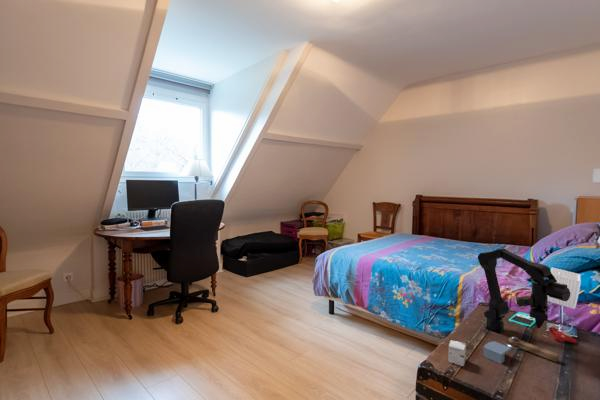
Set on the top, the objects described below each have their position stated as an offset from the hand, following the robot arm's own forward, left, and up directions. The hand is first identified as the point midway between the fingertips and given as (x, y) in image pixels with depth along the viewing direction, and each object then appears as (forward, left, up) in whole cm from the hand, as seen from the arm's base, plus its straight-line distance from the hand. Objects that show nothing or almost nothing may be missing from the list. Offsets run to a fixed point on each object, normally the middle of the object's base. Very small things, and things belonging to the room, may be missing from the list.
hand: (538, 327), depth 141 cm
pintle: (-7, -6, -10) cm, 13 cm away
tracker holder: (+2, +20, -10) cm, 23 cm away
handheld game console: (-16, +27, -11) cm, 34 cm away
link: (0, -5, -9) cm, 11 cm away
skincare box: (-15, -39, -10) cm, 43 cm away
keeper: (-7, -22, -10) cm, 25 cm away
